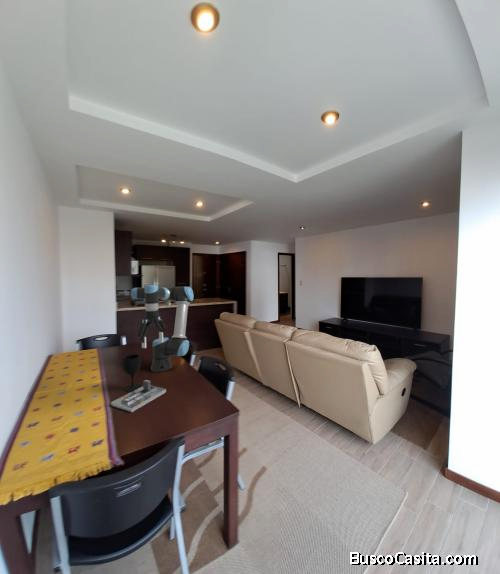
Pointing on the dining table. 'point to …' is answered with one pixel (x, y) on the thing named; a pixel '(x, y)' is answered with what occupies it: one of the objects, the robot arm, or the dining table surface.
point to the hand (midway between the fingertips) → (153, 344)
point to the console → (137, 398)
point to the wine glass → (132, 370)
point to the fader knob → (146, 385)
